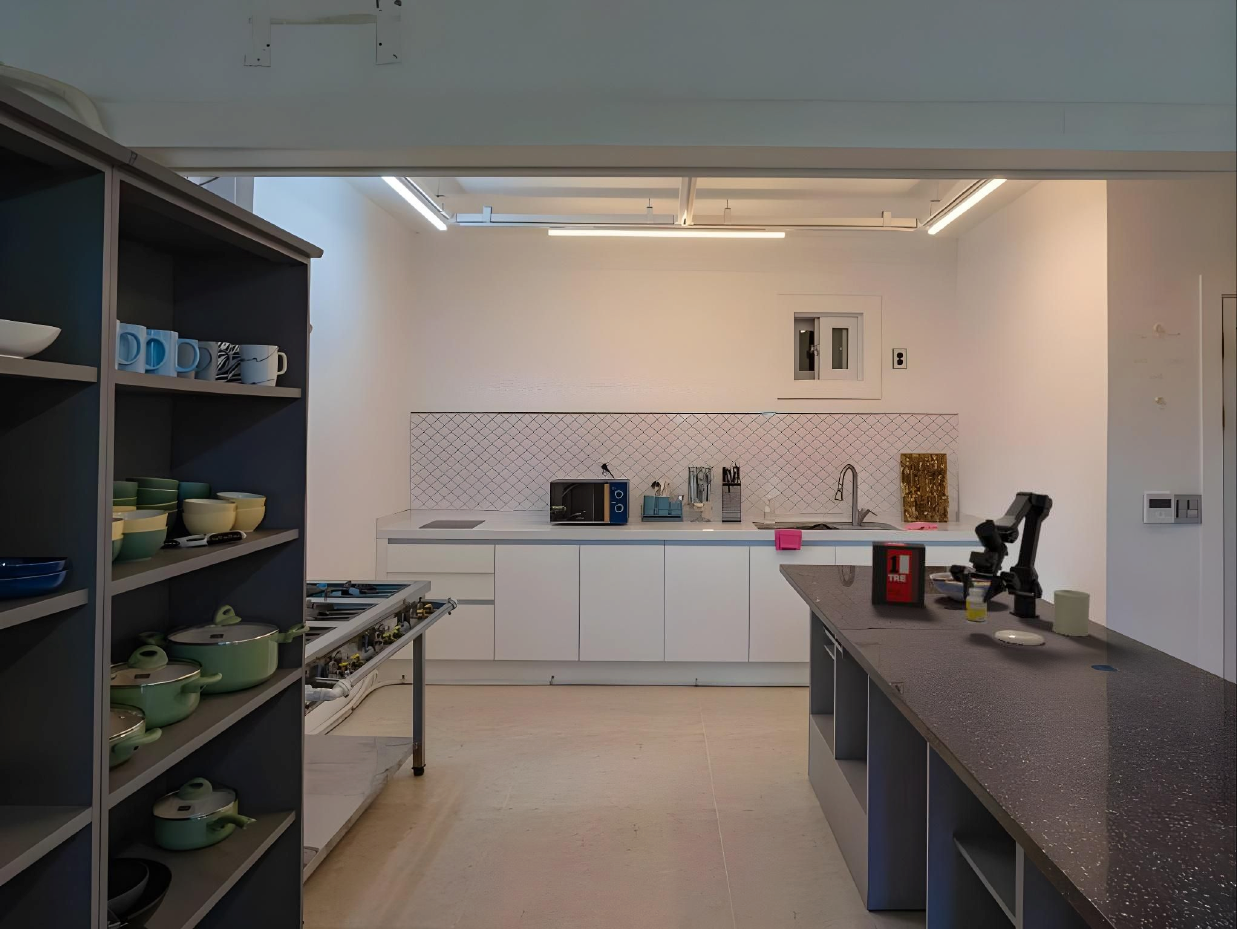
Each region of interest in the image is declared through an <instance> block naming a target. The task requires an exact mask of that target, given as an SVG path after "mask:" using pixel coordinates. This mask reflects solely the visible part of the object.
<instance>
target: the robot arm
mask: <svg viewBox="0 0 1237 929" xmlns="http://www.w3.org/2000/svg"><path fill="white" fill-rule="evenodd" d="M1053 502H1054V501H1053V499H1052V498H1051V497H1050V496H1049V495H1048V494H1043V493H1035V492H1032V491H1018V492H1016V494H1015V499H1014V500H1013V502H1012V503H1011V504H1010V505H1009V507H1008V509H1007V510H1006V512H1005V514H1004V515H1002V517H1000V518H997V519H995V520H994V519H988V518H987V519H986V520H985V521H984V522H983V521H982V522H980V523H978V524H977V526H975V529H974V532H975V535H976V537H977V539H978V542H979V543H980V545H981V546H982V547H983V548H984V550H983V552H982V551H975V550H971V551H970V554H969V559H968V563H971V564H972V566H971V567H972V569H973V570H974V571H973V570H970V569H969V568H967V566H966V565H963V564H955V563H953V564H952V565H951V566H950V567H949V570H948V571H949V572H948V573H951V575H952V577H953V579H954V581H956V582H959V583H963V598H964V600H966V598H967V596H969V588H973V587H974V585H973V583H972V579H973V578H974V579H977V580H984V581H990V586H989V588H988V590H987V592H986V594H985V596H984V599H983V602H984V603H987V604H988V602H990V600H992V599H994V598H995V597H996V596H998V595H1000V594H1002V593H1003V592H1004V593H1006V592H1007V593H1008V594H1007V595H1010V596H1011V595H1012V596H1013V611H1012V610H1011V611H1010V610H1009V612H1008V614H1011V615H1014V616H1016V617H1020V618H1040V617H1041V615H1039V614H1037V602H1036V601H1037V599H1038V600H1039V599H1042V597H1043V588H1042V586H1041V583H1040V581H1039V574H1038V572H1037V570H1036V567H1035V564H1036V557H1037V551H1038V548H1039V546H1038V545H1039V540H1040V535H1041V528H1042V523H1043V522H1044V521H1045V520H1046V519H1047V518H1048V517H1049V515H1050V512H1051V509H1052V507H1053ZM1023 520H1024V523H1023V524H1024V525H1023V529H1022V534H1021V540H1020V546H1019V553H1018V559H1017V562H1016V564H1015V565H1014V566H1013V565H1011V566H1010V567H1009V570H1008V571H1006V570H1005V571H1004V570H1002V569H1003V566H1002V564H1003V562H1004V559H1005V557H1008V556H1009V551H1008V550H1009V548H1008V546H1007V544H1010V545H1011V544H1015V542H1016V541H1017V540H1018V538H1019V536H1020V532H1019V525H1020V524H1021V523H1022V521H1023ZM999 571H1000V573H999Z"/></svg>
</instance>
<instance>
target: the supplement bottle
mask: <svg viewBox="0 0 1237 929" xmlns="http://www.w3.org/2000/svg"><path fill="white" fill-rule="evenodd" d="M969 594H970V595H969V596H967V598H966V601H965V606H966V607H965V612H966V614H965V621H966V622H967V623H968V624H971V625H980V626H981V625H985V624H987V623H988V622H987V617H988V616H987V615H988V613H987V611H988V605H987V604H988V602H987V603H984V602H983V599H984V596H983V595H984V589H981V588H969Z"/></svg>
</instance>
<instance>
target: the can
mask: <svg viewBox="0 0 1237 929" xmlns="http://www.w3.org/2000/svg"><path fill="white" fill-rule="evenodd" d="M1090 598H1091V594H1089V593H1088V592H1085V591H1084V592H1083V591H1079V590H1070V589H1068V590H1067V589H1059V590H1054V591H1053V614H1052V615H1053V619H1052V628H1051V631H1052V632H1053V631H1055V632H1056V634H1058V633H1060V634H1059V635H1062V634H1065V635H1064V636H1067V635H1069V637H1077V636H1082V637H1088V636H1089V635H1090V632H1089V626H1090V624H1089V622H1090ZM1055 632H1054V633H1055Z"/></svg>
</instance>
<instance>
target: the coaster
mask: <svg viewBox="0 0 1237 929" xmlns="http://www.w3.org/2000/svg"><path fill="white" fill-rule="evenodd" d="M994 636H995V639H996V638H997V639H996V640H998V639H1000V640H1003V641H1005V642H1004V643H1007V642H1010V643H1009V644H1012V643H1017V644H1016V645H1018V644H1023V645H1022V646H1040V644H1041V645H1043V644H1044V643H1043V642H1044V641H1045V639H1044V637H1043V636H1041V635H1040V634H1036V633H1033V632H1028V631H1023V630H1022V631H1021V630H1000V631H996V632H995V635H994ZM1000 640H999V641H1000ZM1003 641H1002V642H1003ZM1042 643H1043V644H1042Z"/></svg>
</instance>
